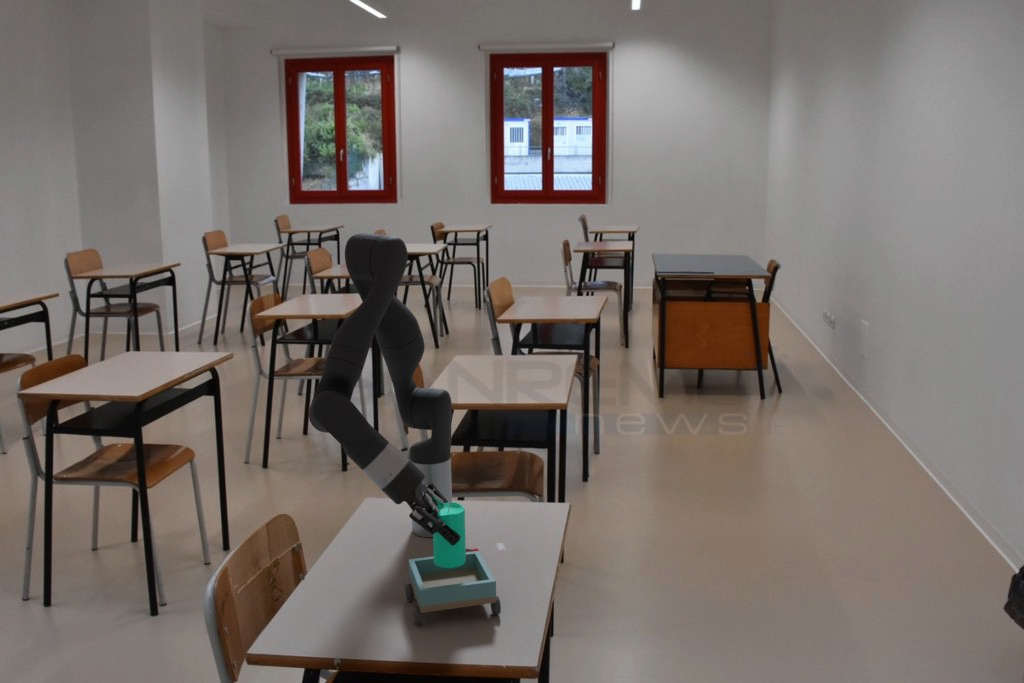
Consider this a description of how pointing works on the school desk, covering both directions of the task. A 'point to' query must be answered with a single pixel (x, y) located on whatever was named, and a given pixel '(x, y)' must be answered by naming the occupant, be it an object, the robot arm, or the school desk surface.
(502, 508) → the school desk surface
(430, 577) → the cart
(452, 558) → the candle
